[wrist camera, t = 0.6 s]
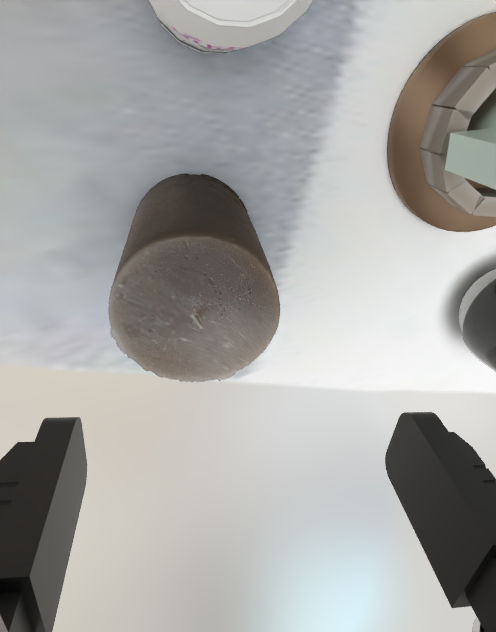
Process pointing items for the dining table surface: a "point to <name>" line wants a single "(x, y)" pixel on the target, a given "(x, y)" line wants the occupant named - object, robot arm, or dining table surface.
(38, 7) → the dining table surface
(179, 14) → the supplement can
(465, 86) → the stone ring brown dish
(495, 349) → the dark rounded figure
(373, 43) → the dining table surface
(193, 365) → the pillar candle
